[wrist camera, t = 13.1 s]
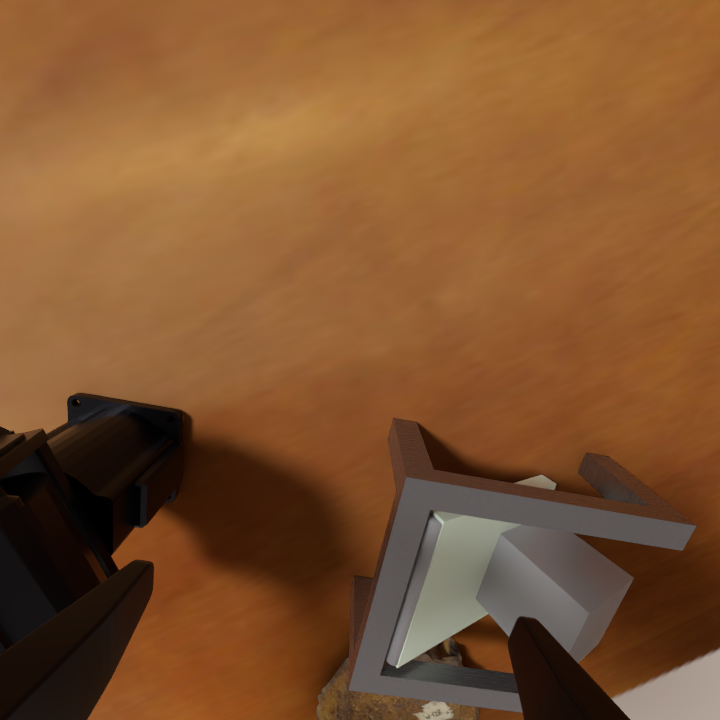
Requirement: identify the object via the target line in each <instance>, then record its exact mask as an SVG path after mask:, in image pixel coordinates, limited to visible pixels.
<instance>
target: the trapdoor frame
mask: <svg viewBox="0 0 720 720" xmlns="http://www.w3.org/2000/svg"><path fill="white" fill-rule="evenodd" d="M388 443H389V449H390V455H391V461H392V467H393V473H394V479H395V485H396V494H395V498H394V502H393V506H392V509H391V513H390V517H389V521H388V525H387V528H386V532H385V536H384V540H383V543H382V547H381V551H380V555H379V558H378V562H377V566H376V570H375V573H374V577H373V579H372V578H365V577H359V576H354V580H353V584H352V588H351V593H350V638H349V684H348V690H350V691H358V692H366V693H373V694H381V695H389V696H397V697H405V698H412V699H420V700H428V701H436V702H444V703H451V704H459V705H467V706H475V707H482V708H490V709H498V710H506V711H514V712H521V713H523V711H522V707H521V703H520V698H519V694H518V689H517V685H516V681H515V676H514V674H512V673H505V672H497V671H490V670H483V669H475V668H468V667H460V666H453V665H446V664H438V663H431V662H423V661H416V660H410V661H409V662H407V663H405V664H404V665H402V666H400V667H399V668H397V667H396V666H392V665H390V664H389V663H388V662H387V661H386V658H385V657H386V654H387V650H388V647H389V644H390V640H391V637H392V634H393V631H394V627H395V624H396V621H397V617H398V614H399V611H400V608H401V604H402V601H403V598H404V594H405V591H406V588H407V585H408V581H409V578H410V575H411V571H412V568H413V565H414V562H415V558H416V555H417V552H418V548H419V545H420V542H421V538H422V535H423V532H424V529H425V525H426V522H427V519H428V515H429V512H430V510H435V511H441V512H447V513H453V514H460V515H466V516H472V517H478V518H484V519H490V520H496V521H503V522H509V523H515V524H521V525H527V526H533V527H539V528H546V529H552V530H558V531H564V532H570V533H576V534H582V535H589V536H595V537H601V538H607V539H613V540H619V541H625V542H632V543H638V544H644V545H650V546H656V547H662V548H668V549H674V550H681V551H683V549H684V547H685V546H686V544H687V542H688V540H689V539H690V537H691V535H692V533H693V532H694V530H695V528H696V525H695V524H694V523H692V522H691V521H690V520H689V519H687V518H686V517H685V516H683V515H682V514H681V513H680V512H678V511H677V510H676V509H675V508H673V507H672V506H671V505H669V504H668V503H667V502H666V501H664V500H663V499H662V498H661V497H659V496H658V495H657V494H656V493H654V492H653V491H652V490H650V489H649V488H648V487H647V486H645V485H644V484H643V483H642V482H640V481H639V480H638V479H636V478H635V477H634V476H633V475H631V474H630V473H629V472H628V471H626V470H625V469H624V468H622V467H621V466H620V465H619V464H617V463H616V462H615V461H614V460H612V459H611V458H610V457H609V456H603V455H598V454H592V453H586V455H585V457H584V459H583V462H582V464H581V466H580V469H579V471H578V473H579V474H580V475H581V476H582V477H583V478H584V479H585V480H586V481H587V482H588V483H589V484H590V485H591V486H592V487H593V488H594V489H595V490H596V491H598V492H599V493H600V494H601V495H602V496H603V497H604V498H605V499H604V498H598V497H592V496H586V495H580V494H574V493H568V492H563V491H557V490H551V489H545V488H539V487H533V486H527V485H521V484H516V483H510V482H504V481H498V480H492V479H486V478H480V477H474V476H469V475H463V474H457V473H451V472H445V471H439V470H434V469H433V466H432V463H431V460H430V458H429V455H428V452H427V449H426V447H425V444H424V441H423V438H422V435H421V433H420V430H419V427H418V424H417V422H412V421H407V420H401V419H396V418H393V421H392V425H391V429H390V433H389V437H388Z"/></svg>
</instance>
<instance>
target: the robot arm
mask: <svg viewBox="0 0 720 720" xmlns="http://www.w3.org/2000/svg"><path fill="white" fill-rule="evenodd" d="M77 400H79V401H80V404H79V403H78V402H77ZM67 406H68V422H67V423H65V424H63V425H62V426H60V427H58V428H56V429H54V430H53V431H51V432H49V433H47V434H46V433H45V432H44V430H43V429H38V430H34V431H29V432H25V433H18V434H15V433H14V431H9V430H7V429H5V428H2V427H0V720H87V719H88V717H89V716H90V714H91V712H92V711H93V709H94V707H95V705H96V704H97V702H98V700H99V699H100V697H101V695H102V694H103V692H104V690H105V688H106V687H107V685H108V683H109V681H110V679H111V678H112V676H113V674H114V672H115V670H116V668H117V666H118V664H119V662H120V660H121V657H122V655H123V653H124V651H125V649H126V647H127V645H128V643H129V641H130V639H131V637H132V635H133V633H134V631H135V629H136V627H137V624H138V622H139V620H140V618H141V616H142V614H143V612H144V610H145V608H146V606H147V604H148V602H149V600H150V597H151V595H152V591H153V578H154V564H153V563H152V562H150V561H144V560H134V561H132V562H131V563H129V564H128V565H126V566H125V567H123V568H122V569H121V570H118V568H117V566H116V564H115V562H114V561H113V559H112V557H111V555H112V554H113V553H114V552H115V551H116V550H117V548H118V547H119V546H120V545H121V544H122V542H123V541H124V540H125V539H126V538H127V536H128V535H129V534H130V533H131V532H132V530H133V529H134V528H135V527H138V528H143V527H144V526H145V525H147V524H148V523H149V521H150V520H151V519H152V518H153V516H154V515H155V514H156V513H157V511H158V510H159V509H160V508H161V506H162V505H163V504H164V503H165V502H167V503H170V502H173V501H174V500H175V498H176V497H177V496H178V491H179V484H180V482H181V481H182V478H183V462H184V446H183V444H182V443H181V439H182V421H183V417H182V414H181V412H180V411H178V410H176V409H171V408H165V407H160V406H154V405H148V404H142V403H136V402H131V401H125V400H119V399H113V398H108V397H102V396H96V395H90V394H84V393H77V394H74V395H72V396H70V397H69V398H68V401H67ZM170 416H173V417H174V418H175V420H172V419H171V418H170ZM508 649H509V654H510V659H511V663H512V667H513V672H514V676H515V681H516V685H517V689H518V694H519V698H520V703H521V707H522V711H523V716H524V720H630V719H629V718H628V717H627V716H626V715H625V714H624V712H623V711H622V710H621V709H620V708H619V707H618V706H617V705H616V704H615V703H614V702H613V700H612V699H611V698H610V697H609V696H608V695H607V694H606V693H605V692H604V691H603V690H602V689H601V687H600V686H599V685H598V684H597V683H596V682H595V681H594V680H593V679H592V678H591V677H590V676H589V675H588V673H587V672H586V671H585V670H584V669H583V668H582V667H581V666H580V665H579V664H578V663H577V662H576V660H575V659H574V658H573V657H572V656H571V655H570V654H569V653H568V652H567V651H566V650H565V649H564V648H563V646H562V645H561V644H560V643H559V642H558V641H557V640H556V639H555V638H554V637H553V636H552V635H551V634H550V632H549V631H548V630H547V629H546V628H545V627H544V626H543V625H542V624H541V623H540V622H539V621H538V620H537V619H535V618H533V617H526V616H519V617H518V618H517V620H516V622H515V624H514V627H513V629H512V631H511V634H510V636H509V639H508Z"/></svg>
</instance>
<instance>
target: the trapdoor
mask: <svg viewBox="0 0 720 720" xmlns="http://www.w3.org/2000/svg"><path fill="white" fill-rule="evenodd" d="M515 483H516V484H521V485H527V486H533V487H539V488H545V489H551V490H555V487H556V485H557V484H556V483H554V482H553V481H551V480H550V479H548V478H547V477H545V476H544V475H539V476H536V477H532V478H529V479H525V480H522V481H519V482H515ZM520 525H521V524H515V523H509V522H503V521H496V520H490V519H484V518H478V517H472V516H466V515H460V514H453V513H447V512H441V511H435V510H430V512H429V515H428V519H427V522H426V525H425V529H424V532H423V535H422V538H421V542H420V545H419V548H418V552H417V555H416V558H415V562H414V565H413V568H412V571H411V575H410V578H409V581H408V585H407V588H406V591H405V594H404V598H403V601H402V604H401V608H400V611H399V614H398V617H397V621H396V624H395V627H394V631H393V634H392V637H391V640H390V644H389V647H388V650H387V654H386V657H385V658H386V661H387V662H388V663H389V664H390V665H392V666H396V667H397V668H399V667H400V666H402V665H404V664H405V663H407V662H409V661H410V660H412V659H414V658H416V657H417V656H419V655H421V654H422V653H424V652H426V651H427V650H429V649H431V648H432V647H434V646H436V645H437V644H439V643H441V642H442V641H444V640H446V639H447V638H449V637H451V636H452V635H454V634H456V633H457V632H459V631H461V630H462V629H464V628H466V627H467V626H469V625H471V624H472V623H474V622H476V621H477V620H479V619H481V618H482V617H484V616H486V615H487V614H489V613H488V612H487V611H486V610H485V609H484V608H483V606H482V605H481V604H480V603H479V602H478V601H477V600H476V596H477V593H478V591H479V588H480V585H481V583H482V580H483V577H484V575H485V572H486V569H487V567H488V564H489V562H490V559H491V556H492V554H493V551H494V548H495V546H496V543H497V541H498V538H499V535H500V533H503V532H505V531H508V530H510V529H512V528H515V527H517V526H520Z"/></svg>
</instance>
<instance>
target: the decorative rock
mask: <svg viewBox="0 0 720 720" xmlns="http://www.w3.org/2000/svg"><path fill="white" fill-rule="evenodd" d="M412 660H416V661H423V662H431V663H438V664H446V665H453V666H460V667H464V666H463V664H462V663H461V662H462V657H461V654H460V652H459V649H458V644H457V642H456V641H455V639H454V638H452V637H449V638H447V639H446V640H444V641H442V642H441V643H440V644H437V645H436V646H434V647H432V648H431V649H429V650H427V651H426V652H424V653H422V654H421V655H419V656H417V657H416V658H414V659H412ZM348 684H349V657H348V658H347V659H346V660H345V661H344V662H343V664H342V665H341V667H340V668H339V669H338V671H337V672H336V674H335V675H334V677H333V678H332V679H331V680H330V682H329V683H328V684H327V685H326V686H325V687H324V688H323V689H322V693H321V694H319V696H318V701H319V704H318V706H317V717H318V719H319V720H478V719H479V708H480V707H475V706H467V705H459V704H451V703H444V702H436V701H428V700H420V699H412V698H405V697H397V696H389V695H381V694H373V693H366V692H358V691H350V690H348Z"/></svg>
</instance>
